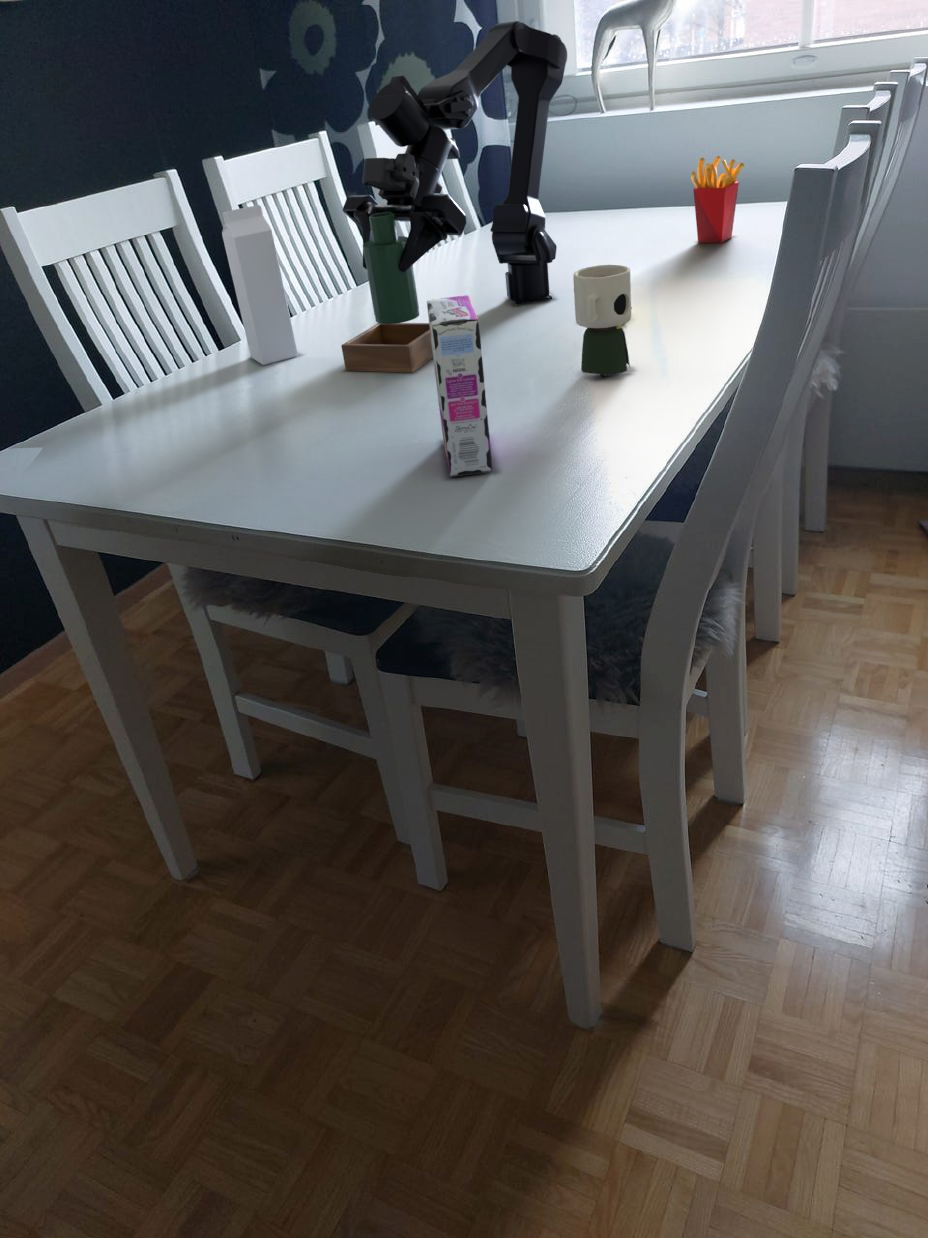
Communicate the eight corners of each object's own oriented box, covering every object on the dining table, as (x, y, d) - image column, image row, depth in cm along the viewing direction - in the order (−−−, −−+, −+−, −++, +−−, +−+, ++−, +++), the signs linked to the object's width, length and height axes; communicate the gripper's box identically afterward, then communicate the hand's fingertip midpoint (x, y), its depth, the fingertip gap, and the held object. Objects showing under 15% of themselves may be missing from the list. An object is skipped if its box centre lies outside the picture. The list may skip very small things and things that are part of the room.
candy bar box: (496, 472, 101) (480, 318, 92) (450, 479, 101) (429, 325, 92) (485, 435, 111) (469, 292, 102) (443, 441, 111) (423, 298, 102)
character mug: (620, 387, 119) (617, 281, 112) (566, 386, 122) (560, 282, 115) (642, 360, 127) (641, 259, 120) (591, 359, 130) (587, 260, 123)
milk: (298, 356, 149) (268, 206, 137) (262, 365, 146) (228, 213, 135) (285, 348, 153) (254, 202, 141) (250, 357, 151) (216, 210, 139)
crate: (382, 347, 147) (378, 322, 145) (446, 348, 143) (443, 322, 141) (345, 370, 139) (340, 344, 137) (412, 372, 134) (408, 346, 132)
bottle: (423, 309, 139) (408, 207, 132) (414, 321, 134) (399, 216, 126) (381, 313, 140) (364, 212, 133) (371, 325, 135) (353, 221, 127)
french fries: (705, 235, 188) (707, 152, 180) (745, 235, 184) (749, 150, 176) (686, 245, 182) (687, 160, 174) (727, 246, 178) (730, 159, 170)
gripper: (338, 133, 132) (299, 234, 131) (442, 126, 122) (400, 237, 120) (384, 182, 141) (348, 278, 140) (484, 180, 131) (446, 283, 130)
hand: (383, 269), depth 132 cm, fingers closed on bottle, 6 cm apart
